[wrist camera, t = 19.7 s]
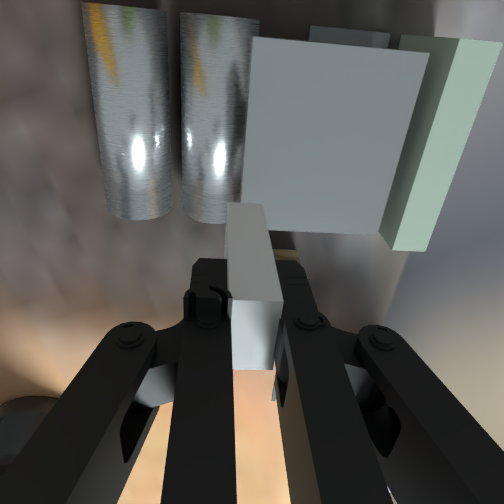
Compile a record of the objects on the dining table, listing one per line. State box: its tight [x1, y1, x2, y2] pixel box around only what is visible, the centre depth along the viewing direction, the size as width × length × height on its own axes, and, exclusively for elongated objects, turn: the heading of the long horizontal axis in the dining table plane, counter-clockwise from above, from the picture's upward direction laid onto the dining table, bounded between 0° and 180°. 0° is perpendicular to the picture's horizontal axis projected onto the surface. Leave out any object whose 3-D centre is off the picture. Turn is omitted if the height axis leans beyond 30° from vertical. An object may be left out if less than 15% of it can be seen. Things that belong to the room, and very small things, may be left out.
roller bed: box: [81, 2, 260, 224], centre depth 32 cm, size 13×16×6 cm
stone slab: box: [239, 35, 430, 235], centre depth 30 cm, size 12×14×2 cm
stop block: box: [378, 34, 503, 251], centre depth 33 cm, size 3×16×10 cm, turn 175°
